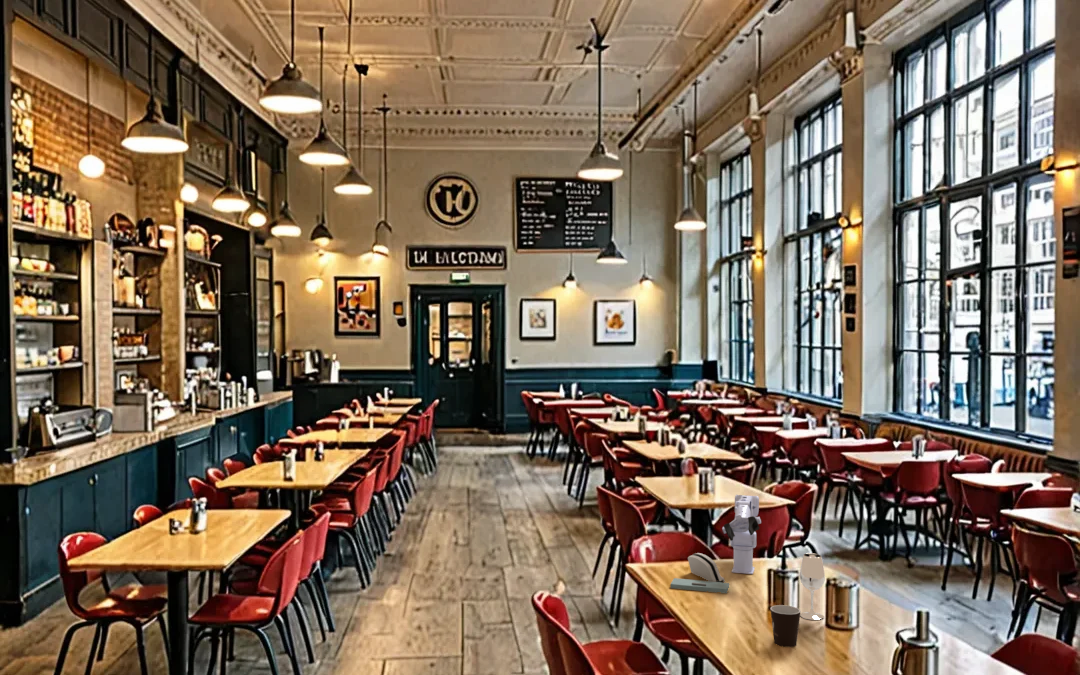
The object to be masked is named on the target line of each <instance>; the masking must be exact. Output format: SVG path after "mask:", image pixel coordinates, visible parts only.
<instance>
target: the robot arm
mask: <svg viewBox="0 0 1080 675" xmlns="http://www.w3.org/2000/svg"><path fill="white" fill-rule="evenodd" d="M759 509H760V496H758V495H748V494H747V495H743V494H742V495H741V494H735V495H734V513H735V514H734V519H733V520H732V521H731V522H729V523H728V522H727V523H725V524H723V526H722V528H721V529H722V532H723V534H724V535H725V534H726V535H727V537H728V538H729V545H730V546H731V547H732V548H733V567H732V569H731V573H736V574H745V575H746V574H749V575H754V572H755V566H754V564H753V562H754V560H753V559H754V558H753V555H754V554H753V553H754V549H755V548H756V547H757V531H759V530H760V526H759V525H760V524H762V519H761V517H760V516H758V515H759V511H760V510H759Z"/></svg>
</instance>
